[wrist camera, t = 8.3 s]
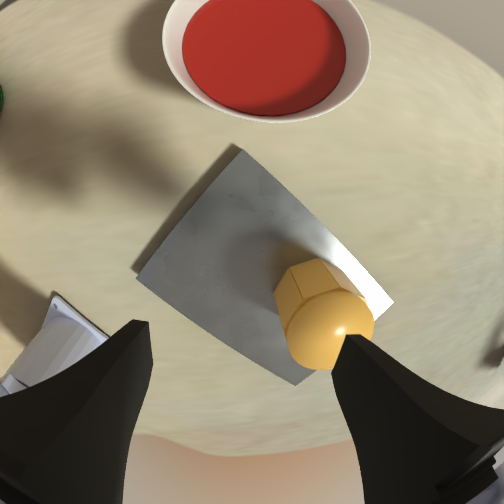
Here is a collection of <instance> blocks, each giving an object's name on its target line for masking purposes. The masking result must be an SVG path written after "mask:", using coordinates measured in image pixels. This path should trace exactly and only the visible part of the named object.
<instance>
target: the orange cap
mask: <svg viewBox="0 0 504 504" xmlns="http://www.w3.org/2000/svg"><path fill="white" fill-rule="evenodd" d="M273 294H274V297H275V301H276V305H277V309H278V313H279V317H280V320H281V324H282V328H283V331H284V335H285V338H286V341H287V344H288V348H289V352H290V354H291V356H292V358H293V359H294V360H295V361H296V362H297V363H298V364H300V365H302V366H303V367H306V368H309V369H315V370H325V369H331V368H334V365H335V363H336V360H337V357H338V355H339V352H340V350H341V347H342V344H343V342H344V339H345V336H346V334H361V335H362V336H364V337H365V338H367V339H368V340H370V339H371V336H372V334H373V330H374V317H373V314H372V312H371V310H370V308H369V307H368V301H367V299H366V298H365V297H364V295H363V294H362V293H361V292H360V291H359V289H358V288H357V287H356V286H355V285H354V283H353V282H352V281H351V280H350V279H349V278H348V276H347V275H346V274H345V273H344V272H343V271H342V270H341V269H339V268H337V267H335V266H334V265H332V264H330V263H328V262H326V261H324V260H322V259H320V258H319V259H318V258H316V259H313V260H310V261H307V262H303V263H300V264H297V265H294V266H291V267H289V268H288V269H287V271H286V273H285V274H284V276H283V277H282V279H281V281H280V282H279V284H278V286H277V287H276V289H275V291H274V293H273Z"/></svg>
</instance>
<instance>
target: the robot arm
mask: <svg viewBox="0 0 504 504" xmlns="http://www.w3.org/2000/svg"><path fill="white" fill-rule="evenodd" d="M55 304H56V305H57V306H56V305H55ZM152 367H153V358H152V350H151V341H150V332H149V322H147V321H140V320H134V319H132V320H131V321H130V322H128V323H127V324H126V325H125V326H123V327H122V328H121V329H120V330H118V331H117V332H116V333H115V334H114V335H112V336H111V337H110V338H109V337H107V336H106V335H105V334H104V333H102V332H101V331H100V330H98V329H97V328H96V327H95V326H93V325H92V324H91V323H90V322H88V321H87V320H86V319H85V318H83V317H82V316H81V315H80V314H79V313H78V312H76V311H75V310H74V309H73V308H72V307H71V306H69V305H68V304H67V303H66V302H65V301H64V300H63V299H62V298H61V297H59V296H57V295H56V296H54V297H53V299H52V301H51V304H50V306H49V309H48V312H47V314H46V317H45V320H44V322H43V325H42V328H41V330H40V331H39V332H38V333H37V335H36V336H35V337H34V338H33V339H32V340H31V342H30V343H29V344H28V345H27V346H26V348H25V349H24V350H23V351H22V352H21V354H20V355H19V356H18V357H17V359H16V360H15V361H14V363H13V364H12V365H11V366H10V368H9V369H8V370H7V372H6V373H5V374H4V376H3V377H1V378H0V504H122V500H123V487H124V478H125V477H124V476H125V470H126V463H127V457H128V451H129V445H130V441H131V437H132V433H133V430H134V427H135V424H136V421H137V418H138V415H139V412H140V410H141V407H142V404H143V401H144V398H145V395H146V392H147V389H148V386H149V381H150V377H151V372H152ZM331 374H332V379H333V384H334V388H335V392H336V396H337V399H338V401H339V404H340V407H341V409H342V412H343V414H344V417H345V420H346V422H347V425H348V427H349V430H350V433H351V435H352V438H353V441H354V444H355V447H356V451H357V456H358V460H359V465H360V470H361V477H362V483H363V490H364V500H365V504H504V462H503V463H502V464H501V465H500V466H498V467H497V468H496V469H495V470H494V469H493V467H492V466H493V465H494V464H495V463H496V460H495V458H494V455H495V454H496V453H497V452H498V451H499V450H500V449H501V448H502V447H503V446H504V410H503V409H497V408H491V407H487V406H483V405H480V404H476V403H473V402H470V401H467V400H465V399H462V398H460V397H457V396H455V395H452V394H450V393H448V392H446V391H444V390H442V389H440V388H438V387H436V386H435V385H433V384H431V383H429V382H427V381H426V380H424V379H422V378H421V377H419V376H418V375H416V374H415V373H413V372H412V371H410V370H409V369H407V368H406V367H405V366H403V365H402V364H400V363H399V362H398V361H396V360H395V359H394V358H392V357H391V356H390V355H388V354H387V353H386V352H384V351H383V350H382V349H380V348H379V347H378V346H376V345H375V344H374V343H372V342H371V341H370V340H368V339H367V338H365V337H364V336H362V335H361V334H346V336H345V339H344V342H343V344H342V347H341V350H340V352H339V355H338V357H337V360H336V363H335V365H334V368H333V370H332V372H331Z"/></svg>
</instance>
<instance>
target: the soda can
mask: <svg viewBox="0 0 504 504" xmlns="http://www.w3.org/2000/svg"><path fill="white" fill-rule="evenodd" d="M2 101H3V94H2V90H1V87H0V111H1V107H2Z"/></svg>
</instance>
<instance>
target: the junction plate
mask: <svg viewBox="0 0 504 504" xmlns="http://www.w3.org/2000/svg"><path fill="white" fill-rule="evenodd" d="M316 258H318V259H319V258H320V259H322V260H324V261H326V262H328V263H330V264H332V265H334V266H335V267H337V268H339V269H341V270H342V271H343V272H344V273H345V274H346V275H347V276H348V278H349V279H350V280H351V281H352V282H353V283H354V285H355V286H356V287H357V288H358V289H359V291H360V292H361V293H362V294H363V295H364V297H365V298H366V299H367V301H368V307H369V308H370V310H371V312H372V314H373V317H374V321H375V320H376V319H377V318H378V317H379V316H380V315H381V314H382V313H383V312H384V311H385V310H386V309H387V308H388V307H389V306H390V305H391V304H392V303H393V301H392V300H391V299H390V298H389V297H388V295H387V294H386V293H385V292H384V291H383V290H382V288H381V287H380V286H379V285H378V284H377V283H376V281H375V280H374V279H373V278H372V277H371V276H370V275H369V274H368V272H367V271H366V270H365V269H364V268H363V267H362V266H361V265H360V264H359V262H358V261H357V260H356V259H355V258H354V257H353V256H352V255H351V254H350V253H349V252H348V251H347V249H346V248H345V247H344V246H343V245H342V244H341V243H340V242H339V241H338V240H337V239H336V238H335V237H334V236H333V235H332V234H331V233H330V232H329V230H328V229H327V228H326V227H325V226H324V225H323V224H322V223H321V222H320V221H319V220H318V219H317V218H316V217H315V216H314V215H313V214H312V213H311V212H310V211H309V210H308V209H307V208H306V207H305V206H304V205H303V204H302V203H301V202H300V201H299V200H298V199H297V198H296V197H294V196H293V195H292V194H291V193H290V192H289V191H288V190H287V189H286V188H285V187H284V186H283V185H282V184H281V183H280V182H279V181H278V180H277V179H276V178H274V177H273V176H272V175H271V174H270V173H269V172H268V171H267V170H266V169H265V168H264V167H262V166H261V165H260V164H259V163H258V162H257V161H256V160H255V159H254V158H253V157H251V156H250V155H249V154H248V153H247V152H246V151H245V150H243V149H242V150H241V152H240V153H239V154H238V155H237V156H236V157H235V158H234V159H233V160H232V161H231V162H230V163H229V164H228V166H227V167H226V168H225V169H224V170H223V171H222V172H221V173H220V174H219V176H218V177H217V178H216V179H215V180H214V181H213V182H212V183H211V185H210V186H209V187H208V188H207V189H206V190H205V192H204V193H203V194H202V195H201V196H200V197H199V199H198V200H197V201H196V202H195V203H194V204H193V206H192V207H191V208H190V209H189V210H188V212H187V213H186V214H185V215H184V216H183V218H182V219H181V220H180V221H179V223H178V224H177V225H176V226H175V227H174V229H173V230H172V231H171V232H170V234H169V235H168V236H167V238H166V239H165V240H164V241H163V243H162V244H161V245H160V246H159V248H158V249H157V250H156V252H155V253H154V254H153V256H152V257H151V258H150V260H149V261H148V262H147V264H146V265H145V266H144V268H143V269H142V270H141V272H140V273H139V274H138V276H137V277H136V279H137V280H138V281H139V282H141V283H142V284H143V285H144V286H146V287H147V288H148V289H150V290H151V291H152V292H153V293H155V294H156V295H157V296H159V297H160V298H161V299H163V300H164V301H165V302H167V303H168V304H169V305H171V306H172V307H173V308H175V309H176V310H177V311H179V312H180V313H181V314H183V315H184V316H186V317H187V318H188V319H190V320H191V321H193V322H194V323H196V324H197V325H198V326H200V327H201V328H203V329H204V330H206V331H207V332H209V333H210V334H212V335H213V336H215V337H216V338H217V339H219V340H221V341H222V342H224V343H225V344H227V345H228V346H230V347H231V348H233V349H234V350H236V351H237V352H239V353H241V354H242V355H244V356H245V357H247V358H249V359H250V360H252V361H254V362H255V363H257V364H258V365H260V366H262V367H263V368H265V369H267V370H269V371H270V372H272V373H274V374H275V375H277V376H279V377H281V378H282V379H284V380H286V381H288V382H289V383H291V384H293V385H295V386H296V385H297V384H299V383H300V382H301V381H303V380H304V379H305V378H307V377H308V376H309V375H311V374H312V373H313V372H315V371H316V370H315V369H309V368H306V367H303V366H302V365H300V364H298V363H297V362H296V361H295V360H294V359H293V358H292V356H291V354H290V352H289V348H288V344H287V341H286V338H285V335H284V331H283V328H282V324H281V320H280V317H279V313H278V309H277V305H276V301H275V297H274V294H273V293H274V291H275V289H276V287H277V286H278V284H279V282H280V281H281V279H282V277H283V276H284V274H285V273H286V271H287V269H288V268H289V267H291V266H294V265H297V264H300V263H303V262H307V261H310V260H313V259H316Z"/></svg>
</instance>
